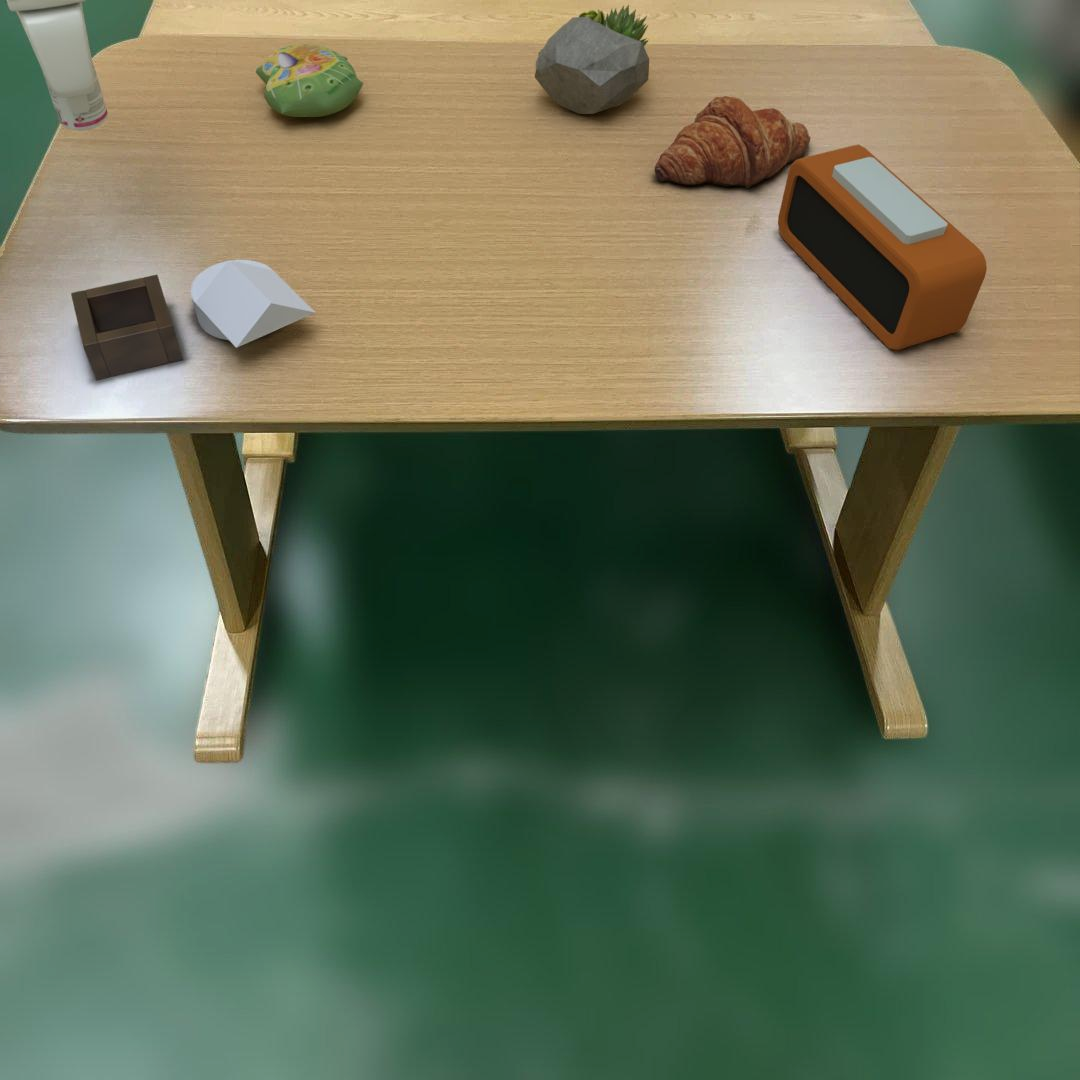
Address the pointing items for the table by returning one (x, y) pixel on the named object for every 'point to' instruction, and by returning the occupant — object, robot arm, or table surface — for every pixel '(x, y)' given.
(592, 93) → the potted plant
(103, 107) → the pill bottle
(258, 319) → the wedge on round base
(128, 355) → the socket
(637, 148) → the table surface
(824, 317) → the table surface
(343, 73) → the educational model
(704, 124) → the pastry
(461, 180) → the table surface
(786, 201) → the alarm clock
